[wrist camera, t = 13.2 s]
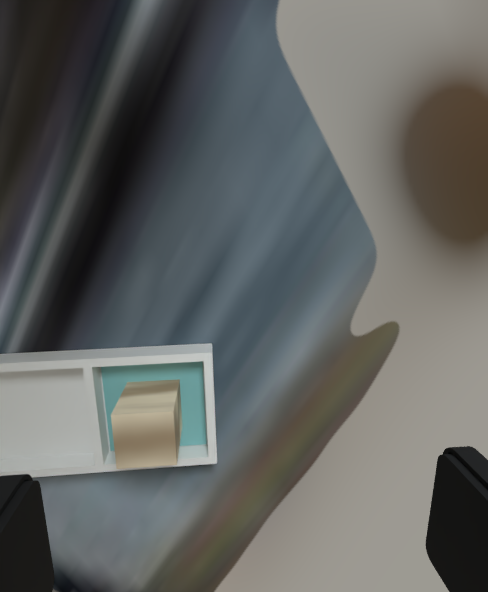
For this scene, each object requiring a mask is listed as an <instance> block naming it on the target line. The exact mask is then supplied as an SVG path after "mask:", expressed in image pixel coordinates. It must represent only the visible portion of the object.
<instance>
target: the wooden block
mask: <svg viewBox="0 0 488 592" xmlns="http://www.w3.org/2000/svg"><path fill="white" fill-rule="evenodd" d="M111 422H112V431H113V440H114V450H115V459H116V468H117V469H125V468H139V467H153V466H167V465H177V461H178V454H179V446H180V439H181V432H182V410H181V394H180V379H177V380H158V381H140V382H127V384H126V386H125V388H124V390H123V392H122V394H121V396H120V398H119V400H118V402H117V404H116V406H115V408H114V410H113V412H112V414H111Z"/></svg>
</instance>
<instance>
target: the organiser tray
mask: <svg viewBox="0 0 488 592" xmlns="http://www.w3.org/2000/svg"><path fill="white" fill-rule="evenodd" d="M177 379H180V394H181V410H182V432H181V439H180V446H179V454H178V461H177V465H167V466H153V467H139V468H125V469H117V468H116V459H115V450H114V440H113V431H112V422H111V414H112V412H113V410H114V408H115V406H116V404H117V402H118V400H119V398H120V396H121V394H122V392H123V390H124V388H125V386H126V384H127V382H140V381H158V380H177ZM205 464H217V443H216V420H215V398H214V375H213V353H212V343H208V344H188V345H168V346H148V347H128V348H108V349H88V350H69V351H49V352H29V353H9V354H0V476H4V475H20V474H29V475H30V476H31V477H45V476H58V475H71V474H85V473H98V472H111V471H125V470H138V469H151V468H165V467H178V466H191V465H205Z"/></svg>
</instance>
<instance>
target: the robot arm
mask: <svg viewBox="0 0 488 592" xmlns="http://www.w3.org/2000/svg"><path fill="white" fill-rule="evenodd" d="M426 550H427V554H428V556H429V559H430V561H431V562H432V564H433V566H434V568H435V569H436V571H437V572H438V574H439V576H440V577H441V579H442V580H443V582H444V584H445V585H446V587H447V588H448V590H449V592H488V460H487V459H486V458H485V457H484V456H483V455H482V454H480V453H479V452H478V451H477V450H476V449H475V448H473V447H470V446H467V447H452V448H446V449H445V450H444V452H443V455H440V456H439V457H438V461H437V468H436V475H435V482H434V489H433V496H432V502H431V510H430V516H429V523H428V530H427V537H426ZM53 585H54V570H53V564H52V557H51V551H50V545H49V538H48V532H47V526H46V519H45V513H44V507H43V500H42V494H41V488H40V483H39V482H38V481H33V480H32V477H31V476H30V475H29V474H20V475H4V476H0V592H52V590H53Z"/></svg>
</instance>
